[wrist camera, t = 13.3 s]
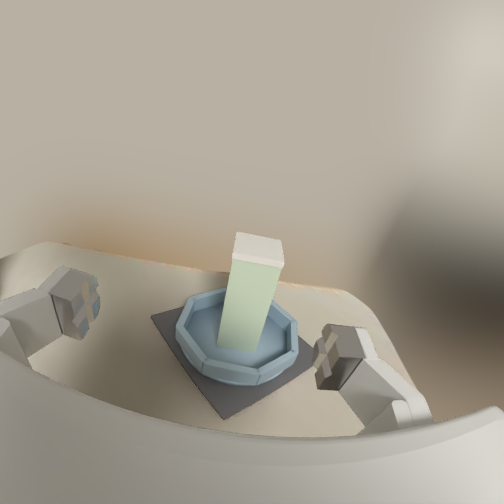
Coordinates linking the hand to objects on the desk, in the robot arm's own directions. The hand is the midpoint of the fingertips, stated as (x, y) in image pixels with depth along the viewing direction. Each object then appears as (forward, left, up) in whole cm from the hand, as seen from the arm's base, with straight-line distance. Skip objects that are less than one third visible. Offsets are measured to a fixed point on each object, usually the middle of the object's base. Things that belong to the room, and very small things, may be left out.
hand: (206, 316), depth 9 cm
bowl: (-15, +17, -24) cm, 33 cm away
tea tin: (-15, +17, -23) cm, 32 cm away
